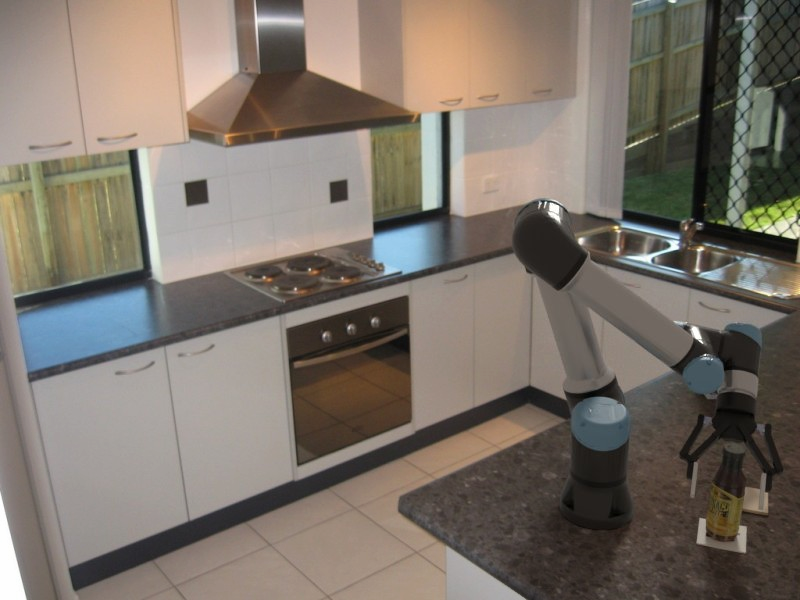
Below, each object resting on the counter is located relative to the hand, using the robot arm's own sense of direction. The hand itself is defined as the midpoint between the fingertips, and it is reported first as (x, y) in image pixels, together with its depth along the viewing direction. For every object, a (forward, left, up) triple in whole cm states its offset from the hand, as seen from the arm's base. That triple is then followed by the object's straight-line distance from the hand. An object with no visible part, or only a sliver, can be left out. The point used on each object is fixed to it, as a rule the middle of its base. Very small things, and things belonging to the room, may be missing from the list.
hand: (726, 502), depth 163 cm
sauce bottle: (0, +3, -9) cm, 10 cm away
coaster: (+4, +18, -9) cm, 20 cm away
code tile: (0, +3, -9) cm, 10 cm away
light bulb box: (-5, +71, -10) cm, 71 cm away
